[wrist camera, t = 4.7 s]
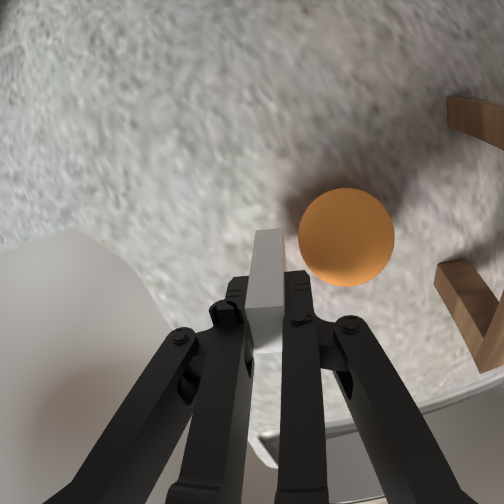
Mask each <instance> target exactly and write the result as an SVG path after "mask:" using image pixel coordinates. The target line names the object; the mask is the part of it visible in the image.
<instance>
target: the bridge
mask: <svg viewBox="0 0 504 504" xmlns="http://www.w3.org/2000/svg"><path fill="white" fill-rule="evenodd" d="M447 110H448V127H451V128H454V129H456V130H459V131H461V132H464V133H466V134H469V135H471V136H473V137H476V138H478V139H480V140H483V141H485V142H487V143H489V144H491V145H494V146H496V147H498V148H500V149H502V150H504V105H501V104H497V103H494V102H490V101H485V100H481V99H473V98H463V97H451V96H447ZM434 286H435V288H436V289H437V291H438V293H439V295H440V296H441V298H442V300H443V301H444V303H445V305H446V307H447V309H448V310H449V312H450V314H451V316H452V318H453V320H454V321H455V323H456V325H457V327H458V329H459V331H460V333H461V335H462V337H463V339H464V341H465V343H466V345H467V347H468V349H469V351H470V353H471V355H472V357H473V359H474V362H475V364H476V366H477V368H478V370H479V373H480V374H481V373H483V372H486V371H489V370H492V369H494V368H497V367H499V366H502V365H504V290H503V293H502V296H501V299H500V301H498V300H497V298H496V297H495V295H494V294H493V293H492V291H491V290H490V288H489V287H488V286H487V284H486V283H485V282H484V280H483V279H482V278H481V276H480V275H479V274H478V272H477V271H476V270H475V269H474V267H473V266H472V265H471V263H470V262H469V261H468V260H467V259H465V260H460V261H454V262H448V263H442V264H437V270H436V275H435V280H434Z"/></svg>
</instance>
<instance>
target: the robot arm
mask: <svg viewBox="0 0 504 504" xmlns="http://www.w3.org/2000/svg"><path fill="white" fill-rule="evenodd" d="M209 313H210V316H211V319H212V322H213V327H212V328H210V329H208V330H205V331H202V332H198V333H195V332H194V331H193V330H192V329H191V328H188V327H181V328H177V329H175V330H173V331H171V332H170V334H169V335H168V336H167V337H166V339H165V340H164V341H163V343H162V344H161V346H160V347H159V349H158V350H157V352H156V353H155V355H154V356H153V358H152V359H151V361H150V362H149V364H148V365H147V367H146V368H145V369H144V371H143V373H142V374H141V376H140V377H139V378H138V380H137V381H136V383H135V384H134V386H133V387H132V389H131V390H130V392H129V394H128V395H127V396H126V398H125V400H124V401H123V403H122V404H121V406H120V407H119V409H118V410H117V412H116V413H115V415H114V416H113V418H112V419H111V421H110V422H109V424H108V425H107V427H106V429H105V430H104V432H103V433H102V435H101V436H100V438H99V439H98V441H97V443H96V444H95V446H94V447H93V449H92V450H91V452H90V453H89V455H88V457H87V458H86V460H85V461H84V463H83V464H82V466H81V467H80V469H79V471H78V472H77V474H76V476H75V477H74V479H73V480H72V482H71V483H69V484H68V485H67V486H65V487H64V488H63V489H62V490H60V491H59V492H57V493H56V494H55V495H53V496H52V497H51V498H49V499H48V500H47V501H45V502H44V503H43V504H145V503H146V501H147V499H148V497H149V495H150V493H151V492H152V490H153V488H154V486H155V484H156V482H157V480H158V478H159V476H160V474H161V473H162V471H163V469H164V467H165V465H166V463H167V462H168V460H169V458H170V456H171V454H172V452H173V450H174V448H175V446H176V444H177V443H178V441H179V439H180V437H181V435H182V433H183V431H184V429H185V427H186V425H187V423H188V421H189V420H190V418H191V416H192V420H191V424H190V428H189V433H188V437H187V442H186V447H185V452H184V456H183V461H182V465H181V470H180V475H179V478H178V480H177V482H175V483H174V484H172V485H171V486H170V488H169V490H168V493H167V497H166V501H165V504H241V496H242V487H243V476H244V466H245V457H246V448H247V438H248V428H249V417H250V407H251V396H252V386H253V375H254V364H255V363H254V357H253V349H254V350H255V353H272V352H282V384H281V418H280V445H279V467H278V485H277V491H276V494H275V501H274V504H329V494H328V487H327V462H326V439H325V422H324V406H323V393H322V380H321V368H322V369H328V370H332V371H333V374H334V376H335V379H336V381H337V383H338V385H339V388H340V390H341V392H342V394H343V397H344V399H345V401H346V404H347V406H348V408H349V411H350V413H351V415H352V418H353V420H354V422H355V425H356V427H357V429H358V432H359V434H360V436H361V439H362V441H363V443H364V446H365V448H366V451H367V453H368V455H369V458H370V460H371V463H372V465H373V467H374V470H375V472H376V475H377V477H378V479H379V482H380V484H381V487H382V489H383V492H384V494H385V497H386V499H387V502H388V504H478V503H477V502H476V501H474V500H473V499H472V498H470V497H469V496H468V495H467V494H466V493H465V492H463V491H462V490H461V489H460V486H459V484H458V482H457V480H456V478H455V476H454V474H453V472H452V470H451V468H450V466H449V464H448V462H447V460H446V459H445V457H444V455H443V453H442V451H441V449H440V447H439V445H438V443H437V441H436V440H435V438H434V436H433V434H432V432H431V430H430V429H429V427H428V425H427V423H426V421H425V420H424V418H423V416H422V414H421V412H420V411H419V409H418V407H417V405H416V404H415V402H414V400H413V399H412V397H411V395H410V393H409V392H408V390H407V388H406V387H405V385H404V383H403V381H402V380H401V378H400V376H399V375H398V373H397V371H396V370H395V368H394V367H393V365H392V363H391V362H390V360H389V358H388V357H387V355H386V353H385V352H384V350H383V349H382V347H381V345H380V344H379V342H378V341H377V339H376V337H375V336H374V334H373V333H372V331H371V330H370V328H369V326H368V325H367V323H366V322H365V321H364V320H363V319H362V318H360V317H358V316H353V315H348V316H343V317H341V318H339V319H338V320H337V321H336V322H335V323H334V322H328V321H324V320H322V319H320V318H319V317H317V316H316V314H315V312H314V308H313V300H312V292H311V284H310V276H309V275H308V274H307V273H306V271H305V270H301V271H290V272H287V263H286V254H285V246H284V238H283V230H282V228H277V229H267V230H258V231H256V234H255V240H254V247H253V254H252V261H251V268H250V275H249V276H241V277H233V279H232V280H231V281H230V282H229V283H228V287H227V292H226V296H225V299H224V300H220V301H218V302H216V303H214V304H213V305H212V306H211V307H210V309H209ZM192 414H193V415H192Z"/></svg>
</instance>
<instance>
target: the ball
mask: <svg viewBox="0 0 504 504" xmlns="http://www.w3.org/2000/svg"><path fill="white" fill-rule="evenodd" d="M394 239H395V236H394V227H393V224H392V221H391V218H390V216H389V214H388V212H387V210H386V209H385V207H384V206H383V205H382V204H381V203H380V202H379V201H378V200H377V199H376V198H375V197H373V196H372V195H370V194H369V193H367V192H364V191H362V190H358V189H353V188H338V189H334V190H330V191H328V192H326V193H324V194H322V195H320V196H319V197H317V198H316V199H315V200H314V201H313V202H312V203H311V204H310V205H309V206H308V208H307V209H306V211H305V212H304V214H303V216H302V219H301V222H300V225H299V232H298V242H299V248H300V252H301V255H302V257H303V259H304V261H305V263H306V265H307V266H308V267H309V269H310V270H311V271H312V272H313V273H314V274H315V275H316V276H318V277H319V278H321V279H322V280H324V281H326V282H328V283H330V284H333V285H337V286H356V285H360V284H363V283H366V282H368V281H369V280H371V279H373V278H374V277H375V276H377V275H378V274H379V273H380V272H381V271H382V270H383V269H384V267H385V266H386V265H387V263H388V261H389V259H390V257H391V254H392V252H393V248H394Z"/></svg>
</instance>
